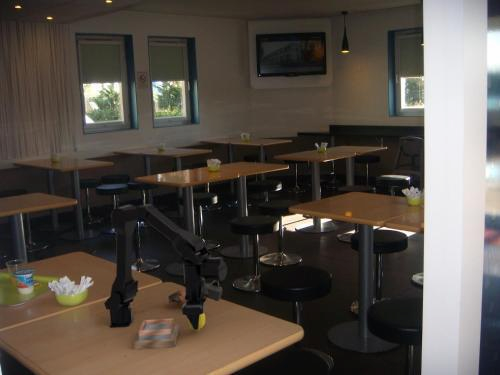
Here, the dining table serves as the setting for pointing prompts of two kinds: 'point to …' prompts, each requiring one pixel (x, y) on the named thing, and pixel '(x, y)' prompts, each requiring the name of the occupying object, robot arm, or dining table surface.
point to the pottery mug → (177, 296)
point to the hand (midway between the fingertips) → (196, 326)
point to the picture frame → (157, 334)
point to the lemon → (201, 322)
